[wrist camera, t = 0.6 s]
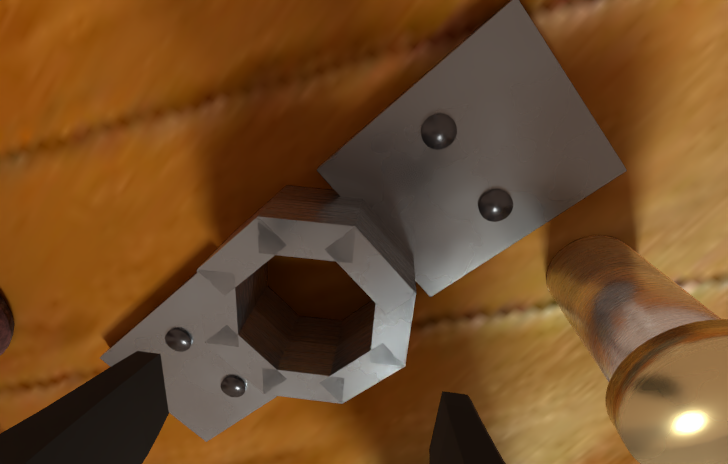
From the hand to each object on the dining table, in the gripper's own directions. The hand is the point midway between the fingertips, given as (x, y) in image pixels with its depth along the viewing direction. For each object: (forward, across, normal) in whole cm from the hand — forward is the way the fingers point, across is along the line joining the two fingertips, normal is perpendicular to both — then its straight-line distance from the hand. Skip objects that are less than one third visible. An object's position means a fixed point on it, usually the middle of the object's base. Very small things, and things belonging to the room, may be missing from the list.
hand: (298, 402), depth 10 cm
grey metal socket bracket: (+10, +1, +2) cm, 10 cm away
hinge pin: (+10, -12, 0) cm, 15 cm away
